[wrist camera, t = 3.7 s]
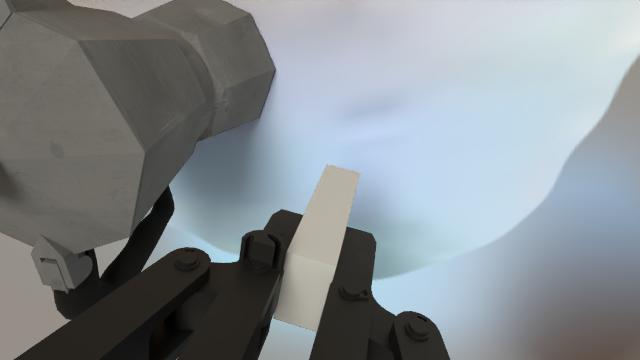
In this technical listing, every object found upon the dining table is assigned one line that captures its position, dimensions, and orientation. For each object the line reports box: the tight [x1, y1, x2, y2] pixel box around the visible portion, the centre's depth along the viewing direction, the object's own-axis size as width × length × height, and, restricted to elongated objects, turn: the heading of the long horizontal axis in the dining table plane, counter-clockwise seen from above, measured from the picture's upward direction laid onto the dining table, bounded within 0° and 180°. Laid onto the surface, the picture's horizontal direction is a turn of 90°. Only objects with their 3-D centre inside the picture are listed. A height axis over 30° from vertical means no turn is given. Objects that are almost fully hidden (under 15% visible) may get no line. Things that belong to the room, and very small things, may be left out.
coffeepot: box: [0, 0, 275, 320], centre depth 19 cm, size 15×9×18 cm, turn 1°
